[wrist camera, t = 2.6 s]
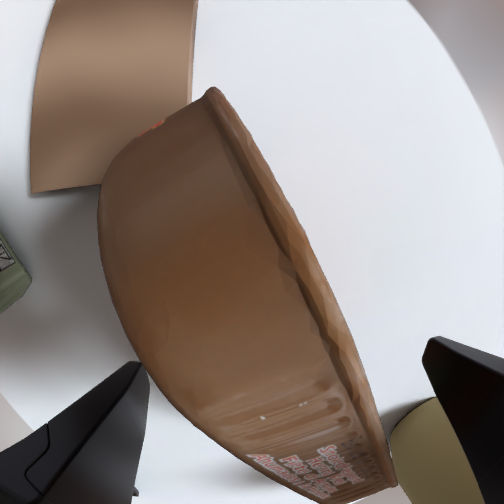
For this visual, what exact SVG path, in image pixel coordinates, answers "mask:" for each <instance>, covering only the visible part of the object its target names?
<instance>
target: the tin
mask: <svg viewBox="0 0 504 504" xmlns="http://www.w3.org/2000/svg"><path fill="white" fill-rule="evenodd" d="M97 223H98V240H99V248H100V255H101V261H102V265H103V269H104V273H105V277H106V281H107V285H108V289H109V292H110V296H111V299H112V302H113V304H114V307H115V309H116V312H117V314H118V316H119V319H120V321H121V324H122V326H123V329H124V331H125V333H126V336H127V338H128V339H129V341H130V343H131V345H132V347H133V349H134V351H135V352H136V354H137V356H138V358H139V360H140V361H141V363H142V365H143V366H144V368H145V369H146V371H147V372H148V374H149V375H150V376H151V378H152V379H153V381H154V382H155V384H156V385H157V387H158V388H159V389H160V391H161V392H162V393H163V395H164V396H165V397H166V398H167V399H168V401H169V402H170V403H171V404H172V405H173V406H174V407H175V408H176V409H177V410H178V411H179V412H180V413H181V414H182V415H183V416H184V417H185V418H186V419H188V420H189V421H190V422H191V423H192V424H193V425H194V426H195V427H196V428H198V429H199V430H201V431H202V432H203V433H205V434H206V435H207V436H208V437H209V438H211V439H212V440H214V441H215V442H216V443H217V444H219V445H220V446H221V447H223V448H224V449H226V450H227V451H228V452H230V453H231V454H233V455H234V456H235V457H237V458H238V459H240V460H242V461H243V462H244V463H246V464H248V465H250V466H251V467H253V468H254V469H255V470H257V471H259V472H261V473H262V474H264V475H265V476H267V477H269V478H270V479H272V480H274V481H276V482H277V483H279V484H281V485H283V486H285V487H287V488H289V489H291V490H293V491H294V492H296V493H298V494H300V495H302V496H304V497H307V498H308V499H310V500H313V501H315V502H317V503H319V504H347V503H350V502H353V501H356V500H359V499H361V498H364V497H367V496H369V495H372V494H374V493H377V492H379V491H382V490H384V489H386V488H389V487H392V488H393V487H396V486H397V485H398V480H397V476H396V473H395V468H394V465H393V462H392V458H391V455H390V451H389V447H388V444H387V441H386V438H385V434H384V431H383V426H382V423H381V420H380V417H379V415H378V412H377V409H376V405H375V401H374V398H373V395H372V392H371V388H370V385H369V382H368V379H367V377H366V374H365V371H364V368H363V365H362V362H361V359H360V357H359V354H358V351H357V348H356V346H355V343H354V340H353V338H352V335H351V333H350V330H349V328H348V326H347V323H346V321H345V319H344V317H343V314H342V312H341V310H340V308H339V305H338V303H337V301H336V298H335V296H334V294H333V292H332V289H331V287H330V285H329V283H328V281H327V279H326V277H325V275H324V273H323V271H322V269H321V267H320V265H319V263H318V260H317V258H316V256H315V254H314V252H313V250H312V248H311V245H310V243H309V240H308V238H307V235H306V233H305V231H304V229H303V228H302V226H301V224H300V223H299V221H298V219H297V217H296V214H295V212H294V210H293V208H292V207H291V206H290V204H289V203H288V201H287V200H286V198H285V196H284V194H283V192H282V190H281V188H280V186H279V184H278V183H277V181H276V180H275V177H274V175H273V173H272V171H271V169H270V167H269V165H268V164H267V162H266V161H265V159H264V158H263V156H262V154H261V152H260V150H259V149H258V147H257V145H256V144H255V142H254V140H253V138H252V135H251V134H250V132H249V131H248V130H247V128H246V127H245V125H244V124H243V123H242V121H241V119H240V118H239V116H238V114H237V113H236V111H235V110H234V108H233V107H232V106H231V105H230V103H229V102H228V101H227V100H226V98H225V96H224V94H223V93H222V92H221V91H220V90H219V89H217V88H216V87H211V88H209V89H208V90H207V91H206V92H205V94H204V95H203V96H202V97H201V98H200V99H198V100H196V101H194V102H192V103H191V104H189V105H187V106H185V107H184V108H182V109H180V110H179V111H177V112H175V113H174V114H172V115H170V116H168V117H167V118H165V119H163V120H162V121H160V122H158V123H157V124H155V125H154V126H152V127H150V128H149V129H147V130H146V131H144V132H143V133H141V134H140V135H138V136H137V137H135V138H134V139H133V140H132V141H130V142H129V143H128V144H127V145H126V146H125V147H124V148H123V149H121V150H120V152H119V153H118V154H117V155H116V156H115V157H114V159H113V160H112V162H111V164H110V165H109V167H108V169H107V171H106V173H105V175H104V177H103V181H102V184H101V189H100V193H99V201H98V211H97Z"/></svg>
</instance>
